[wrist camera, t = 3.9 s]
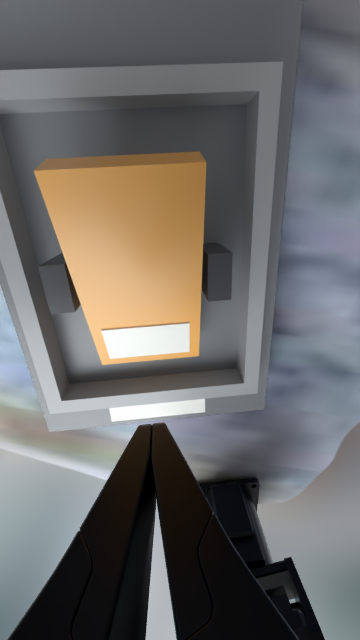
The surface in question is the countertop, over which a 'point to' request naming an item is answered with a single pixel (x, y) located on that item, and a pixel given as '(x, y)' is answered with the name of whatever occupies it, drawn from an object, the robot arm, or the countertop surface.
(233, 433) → the countertop surface
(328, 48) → the countertop surface
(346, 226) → the countertop surface
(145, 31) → the switch panel
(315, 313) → the countertop surface
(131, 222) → the plate
